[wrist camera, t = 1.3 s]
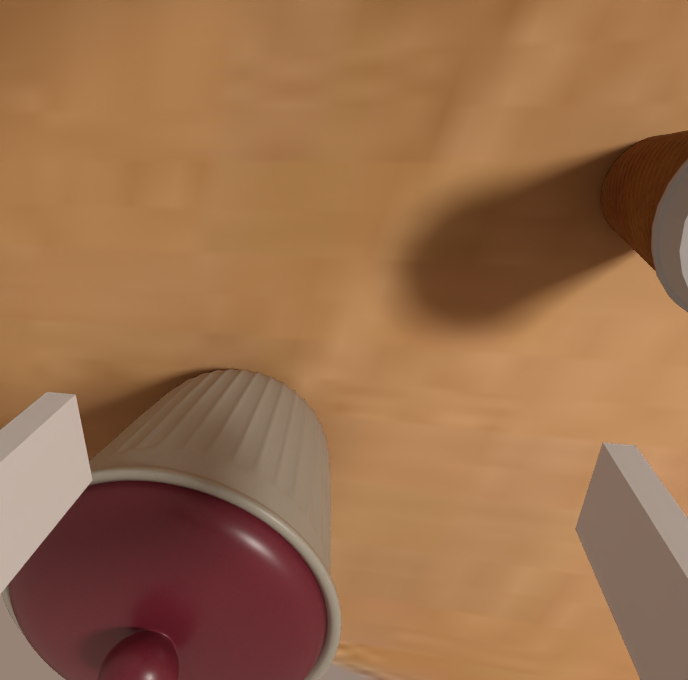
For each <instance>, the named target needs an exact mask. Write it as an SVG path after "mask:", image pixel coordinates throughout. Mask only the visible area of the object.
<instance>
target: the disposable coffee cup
mask: <svg viewBox="0 0 688 680" xmlns="http://www.w3.org/2000/svg"><path fill="white" fill-rule="evenodd" d="M601 205H602V210H603V214H604V216H605V219H606V221H607V222H608V223H609V225H610V226H611V227H612V228H613V229H614V230H615V231H616V232H617V233H618V234H619V235H620V236H621V237H622V238H623V239H624V240H625V241H626V242H627V243H628V244H629V245H630V246H631V247H632V248H633V249H634V250H635V251H636V252H637V253H638V254H639V255H640V256H641V257H642V258H643V259H644V260H645V261H646V262H647V263H648V264H649V265H650V266H651V267H652V268H653V269H654V270H655V271H656V274H657V277H658V279H659V280H660V282H661V284H662V285H663V287H664V289H665V291H666V292H667V294H668V295H669V297H670V298H671V299H672V300H673V301H674V302H675V303H676V304H677V305H679V306H680V307H681V308H683V309H684V310H686V311H687V312H688V131H682V132H677V133H672V134H666V135H659V136H653V137H650V138H647V139H645V140H642V141H640V142H638V143H636V144H635V145H633V146H631V147H630V148H629V149H627V150H626V151H625V152H624V153H623V154H621V156H620V157H619V158H618V159H617V160H616V161H615V163H614V164H613V165H612V167H611V168H610V170H609V172H608V174H607V175H606V178H605V180H604V183H603V187H602V192H601Z"/></svg>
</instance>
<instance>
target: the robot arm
mask: <svg viewBox="0 0 688 680" xmlns="http://www.w3.org/2000/svg"><path fill="white" fill-rule="evenodd" d="M91 481H92V475H91V470H90V465H89V460H88V455H87V450H86V445H85V440H84V434H83V429H82V424H81V419H80V414H79V409H78V404H77V399H76V395H75V394H64V393H53V392H46V393H45V394H44V395H42V396H41V397H40V398H39V399H38V400H36V401H35V402H34V403H33V404H31V405H30V406H29V407H28V408H27V409H25V410H24V411H23V412H22V413H20V414H19V415H18V416H17V417H16V418H14V419H13V420H12V421H11V422H9V423H8V424H7V425H6V426H5V427H3V428H2V429H1V430H0V594H1V593H2V591H3V590H4V589H5V588H6V587H7V585H8V584H9V583H10V582H11V580H12V579H13V578H14V577H15V575H16V574H17V573H18V572H19V570H20V569H21V568H22V567H23V566H24V564H25V563H26V562H27V561H28V559H29V558H30V557H31V556H32V554H33V553H34V552H35V551H36V549H37V548H38V547H39V546H40V544H41V543H42V542H43V541H44V540H45V538H46V537H47V536H48V535H49V533H50V532H51V531H52V530H53V528H54V527H55V526H56V525H57V523H58V522H59V521H60V520H61V519H62V517H63V516H64V515H65V514H66V512H67V511H68V510H69V509H70V507H71V506H72V505H73V504H74V502H75V501H76V500H77V499H78V498H79V496H80V495H81V494H82V493H83V491H84V490H85V489H86V488H87V486H88V485H89V484H90V483H91ZM576 532H577V534H578V536H579V539H580V541H581V543H582V545H583V548H584V550H585V552H586V555H587V557H588V559H589V562H590V564H591V566H592V569H593V571H594V573H595V576H596V578H597V580H598V583H599V585H600V587H601V589H602V592H603V594H604V596H605V599H606V601H607V603H608V606H609V608H610V610H611V613H612V615H613V617H614V620H615V622H616V624H617V627H618V629H619V631H620V634H621V636H622V638H623V640H624V643H625V645H626V647H627V650H628V652H629V654H630V657H631V659H632V661H633V664H634V666H635V668H636V671H637V673H638V675H639V678H640V680H688V518H687V516H686V515H685V514H684V512H683V511H682V509H681V508H680V507H679V505H678V504H677V502H676V501H675V500H674V498H673V497H672V495H671V494H670V493H669V491H668V490H667V489H666V487H665V486H664V484H663V483H662V482H661V480H660V479H659V477H658V476H657V475H656V473H655V472H654V470H653V469H652V468H651V466H650V465H649V463H648V462H647V461H646V459H645V458H644V456H643V455H642V454H641V452H640V451H639V449H638V448H637V447H636V445H625V444H614V443H602V447H601V450H600V453H599V456H598V459H597V462H596V465H595V469H594V472H593V475H592V478H591V481H590V484H589V488H588V491H587V494H586V497H585V500H584V503H583V507H582V510H581V513H580V516H579V519H578V522H577V525H576Z"/></svg>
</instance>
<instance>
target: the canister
mask: <svg viewBox="0 0 688 680" xmlns="http://www.w3.org/2000/svg"><path fill="white" fill-rule="evenodd" d="M89 465H90V470H91V475H92V481H91V483H90V484H89V485H88V486H87V488H86V489H85V490H84V491H83V493H82V494H81V495H80V496H79V498H78V499H77V500H76V501H75V502H74V504H73V505H72V506H71V507H70V509H69V510H68V511H67V512H66V514H65V515H64V516H63V517H62V519H61V520H60V521H59V522H58V523H57V525H56V526H55V527H54V528H53V530H52V531H51V532H50V533H49V535H48V536H47V537H46V538H45V540H44V541H43V542H42V543H41V544H40V546H39V547H38V548H37V549H36V551H35V552H34V553H33V554H32V556H31V557H30V558H29V559H28V561H27V562H26V563H25V564H24V566H23V567H22V568H21V569H20V570H19V572H18V573H17V574H16V575H15V577H14V578H13V579H12V580H11V582H10V583H9V584H8V585H7V587H6V588H5V589H4V590H3V591H2V593H1V594H2V597H3V600H4V602H5V604H6V607H7V609H8V611H9V613H10V615H11V617H12V618H13V620H14V622H15V623H16V625H17V626H18V628H19V629H20V631H21V632H22V633H23V635H24V636H25V637H26V639H27V640H28V642H29V643H30V644H31V646H32V647H33V649H34V650H35V651H36V652H37V653H38V655H39V656H40V657H41V658H42V659H43V660H44V661H45V662H46V663H47V664H48V665H49V666H50V667H51V668H52V669H53V670H55V671H56V672H57V673H58V674H59V675H61V676H62V677H63V678H65V679H66V680H319V679H320V678H321V676H322V675H323V674H324V673H325V672H326V670H327V669H328V667H329V666H330V664H331V662H332V660H333V658H334V656H335V654H336V651H337V648H338V644H339V640H340V633H341V609H340V604H339V599H338V595H337V592H336V589H335V587H334V584H333V582H332V579H331V577H330V467H329V452H328V448H327V441H326V436H325V434H324V432H323V431H322V426H321V423H320V421H319V420H318V419H317V418H316V416H315V413H314V411H313V409H312V408H310V407H309V406H308V405H307V403H306V401H305V399H303V398H301V397H300V396H299V395H298V394H297V393H296V391H295V390H292V389H290V388H289V387H287V386H286V385H285V384H284V383H283V382H279V381H277V380H275V379H274V378H273V377H269V376H265V375H262V374H260V373H259V372H250V371H247V370H234V369H228V370H225V371H222V370H216V371H213V372H211V373H203V374H200V375H199V376H197V377H195V378H191V379H189V380H187V381H185V382H183V383H182V384H181V385H179V386H178V387H176V388H174V389H173V390H171V391H170V392H169V393H167V394H166V395H165V396H164V397H162V398H161V399H160V400H159V401H157V402H156V403H155V404H154V405H153V406H151V407H150V408H149V409H148V410H147V411H145V412H144V413H143V414H142V415H141V416H140V417H138V418H137V419H136V420H135V421H134V422H133V423H132V424H130V425H129V426H128V427H127V428H126V429H125V430H124V431H122V432H121V433H120V434H119V435H118V436H117V437H116V438H115V439H114V440H112V441H111V442H110V443H109V444H108V445H107V446H106V447H105V448H103V449H102V450H101V451H100V452H99V453H98V454H97V455H95V456H94V457H93V458H92V459H91V460H90V461H89Z"/></svg>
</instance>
